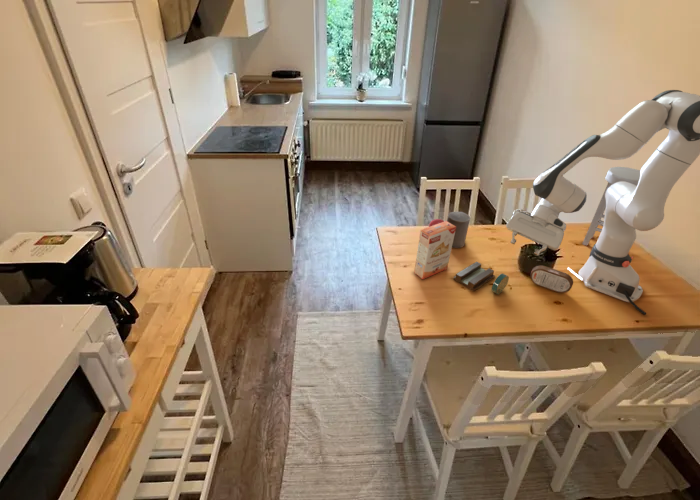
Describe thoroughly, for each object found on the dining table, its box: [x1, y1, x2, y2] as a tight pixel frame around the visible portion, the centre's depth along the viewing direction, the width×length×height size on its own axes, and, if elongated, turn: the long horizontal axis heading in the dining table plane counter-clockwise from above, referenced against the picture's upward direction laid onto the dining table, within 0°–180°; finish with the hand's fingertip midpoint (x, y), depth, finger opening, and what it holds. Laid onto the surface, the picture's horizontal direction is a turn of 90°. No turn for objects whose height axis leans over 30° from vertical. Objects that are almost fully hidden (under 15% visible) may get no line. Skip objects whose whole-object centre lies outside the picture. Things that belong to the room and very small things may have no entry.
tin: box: [529, 265, 574, 294], centre depth 149 cm, size 15×3×8 cm, turn 56°
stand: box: [452, 261, 495, 292], centre depth 155 cm, size 10×14×3 cm
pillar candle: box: [446, 211, 471, 249], centre depth 174 cm, size 10×10×15 cm
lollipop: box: [428, 218, 445, 227], centre depth 169 cm, size 8×8×15 cm
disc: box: [491, 272, 510, 295], centre depth 146 cm, size 2×8×8 cm, turn 130°
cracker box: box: [413, 220, 456, 280], centre depth 153 cm, size 14×6×21 cm, turn 123°
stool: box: [581, 166, 641, 246], centre depth 170 cm, size 16×16×35 cm
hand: (524, 249), depth 146 cm, fingers open, 8 cm apart
